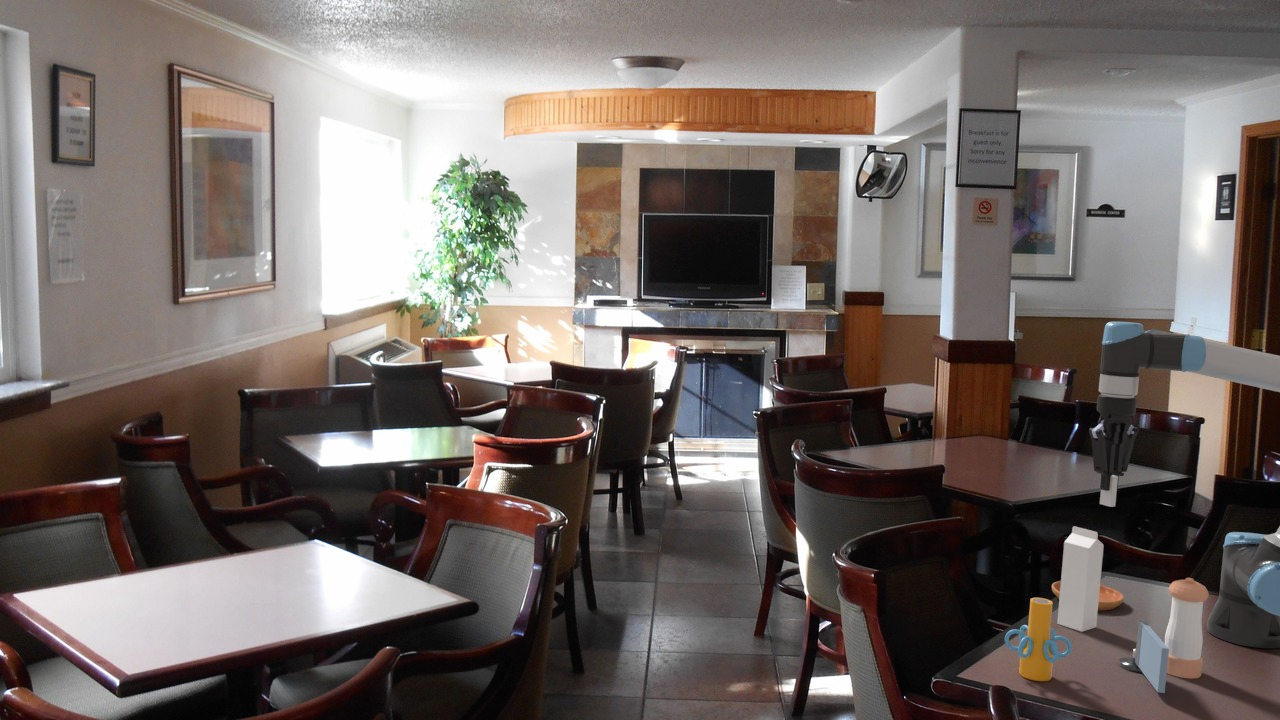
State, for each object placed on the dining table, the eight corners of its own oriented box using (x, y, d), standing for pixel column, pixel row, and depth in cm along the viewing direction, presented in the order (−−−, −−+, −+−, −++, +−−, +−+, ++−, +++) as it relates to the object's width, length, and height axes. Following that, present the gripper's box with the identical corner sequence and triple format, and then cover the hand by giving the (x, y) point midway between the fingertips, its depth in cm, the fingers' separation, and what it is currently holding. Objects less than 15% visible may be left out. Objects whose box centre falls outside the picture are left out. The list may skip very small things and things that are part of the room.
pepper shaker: (1185, 681, 206) (1194, 585, 204) (1152, 667, 213) (1161, 574, 211) (1209, 675, 209) (1218, 581, 208) (1175, 662, 216) (1184, 571, 214)
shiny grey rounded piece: (1132, 659, 216) (1134, 642, 216) (1158, 670, 211) (1160, 652, 211) (1112, 663, 214) (1114, 646, 213) (1138, 674, 208) (1140, 657, 208)
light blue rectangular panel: (1134, 662, 211) (1138, 620, 210) (1141, 662, 211) (1145, 621, 210) (1157, 692, 196) (1161, 648, 195) (1164, 693, 196) (1169, 648, 195)
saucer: (1122, 598, 257) (1123, 586, 257) (1123, 618, 243) (1124, 605, 242) (1052, 587, 264) (1053, 576, 263) (1048, 606, 249) (1049, 593, 249)
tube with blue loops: (1067, 671, 208) (1074, 597, 207) (1070, 691, 199) (1077, 614, 197) (1002, 661, 212) (1008, 588, 211) (1001, 680, 202) (1008, 604, 201)
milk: (1081, 632, 231) (1090, 534, 229) (1056, 623, 236) (1064, 527, 234) (1096, 627, 235) (1105, 530, 233) (1071, 618, 240) (1080, 524, 237)
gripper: (1123, 392, 228) (1113, 499, 231) (1081, 393, 222) (1071, 503, 225) (1153, 397, 222) (1143, 507, 224) (1111, 398, 216) (1101, 511, 218)
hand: (1107, 505), depth 225 cm, fingers closed
